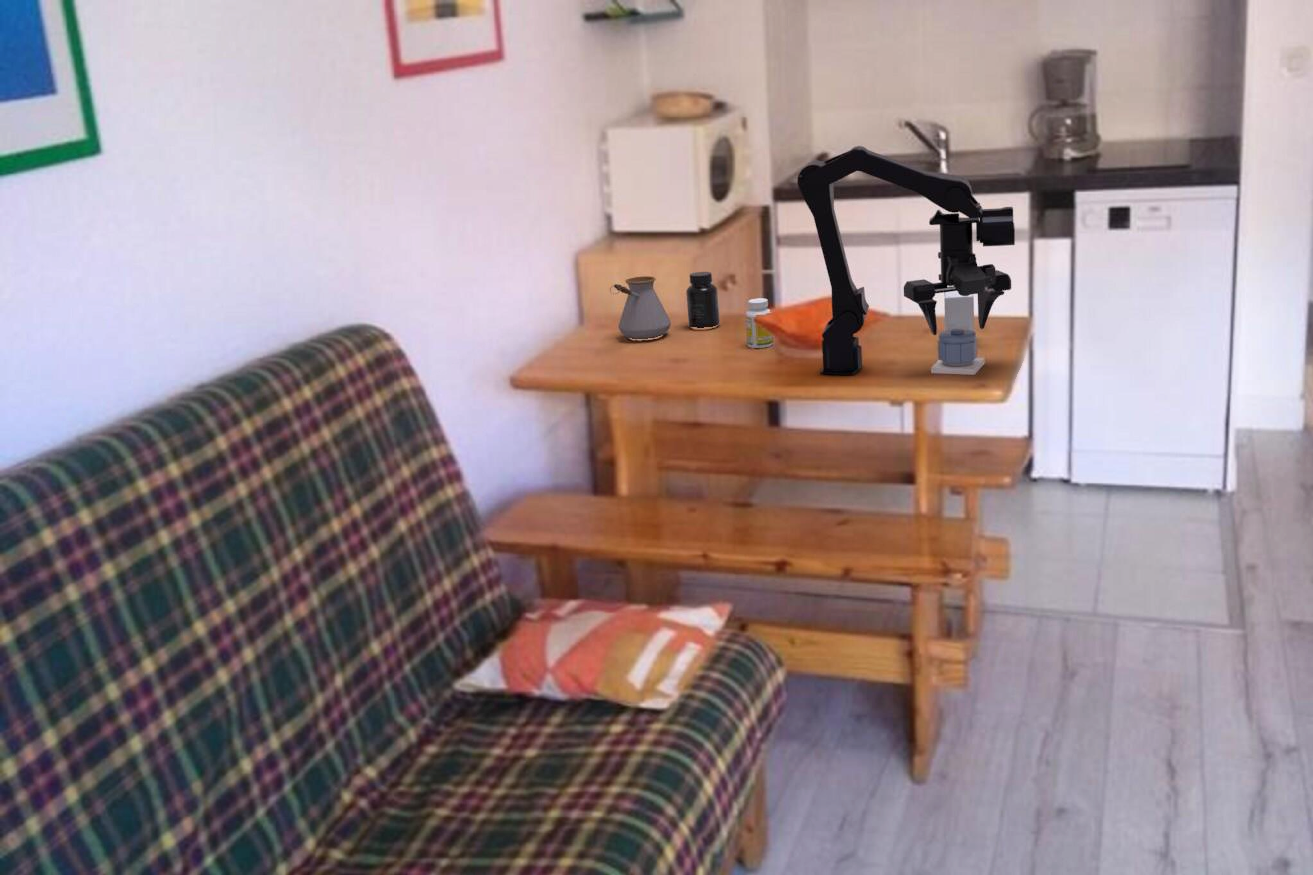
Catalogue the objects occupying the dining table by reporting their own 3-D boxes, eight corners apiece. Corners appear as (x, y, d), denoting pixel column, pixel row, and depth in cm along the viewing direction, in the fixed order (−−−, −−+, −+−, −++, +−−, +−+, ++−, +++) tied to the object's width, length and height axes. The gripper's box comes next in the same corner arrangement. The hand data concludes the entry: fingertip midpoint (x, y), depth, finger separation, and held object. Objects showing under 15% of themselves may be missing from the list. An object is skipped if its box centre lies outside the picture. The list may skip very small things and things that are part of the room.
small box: (974, 349, 267) (973, 296, 264) (945, 350, 268) (944, 297, 265) (973, 339, 274) (973, 287, 271) (945, 340, 275) (944, 288, 272)
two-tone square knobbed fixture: (931, 373, 253) (930, 346, 252) (942, 361, 260) (941, 336, 259) (974, 374, 250) (973, 348, 248) (984, 363, 256) (984, 337, 255)
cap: (935, 361, 253) (934, 334, 251) (944, 352, 258) (944, 325, 257) (971, 363, 250) (970, 335, 248) (979, 353, 256) (979, 326, 254)
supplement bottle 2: (743, 348, 283) (740, 302, 280) (754, 342, 287) (751, 297, 284) (766, 349, 280) (764, 303, 277) (777, 343, 285) (775, 297, 282)
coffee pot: (630, 330, 307) (624, 264, 302) (679, 330, 303) (673, 263, 298) (594, 355, 288) (587, 285, 283) (646, 356, 284) (639, 284, 279)
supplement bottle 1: (703, 322, 308) (700, 269, 305) (726, 325, 304) (722, 272, 300) (682, 328, 304) (678, 275, 300) (705, 332, 299) (700, 278, 296)
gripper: (923, 261, 239) (926, 347, 244) (1024, 248, 242) (1024, 334, 247) (901, 251, 250) (904, 334, 254) (997, 239, 252) (998, 322, 257)
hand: (958, 331), depth 253 cm, fingers open, 9 cm apart
